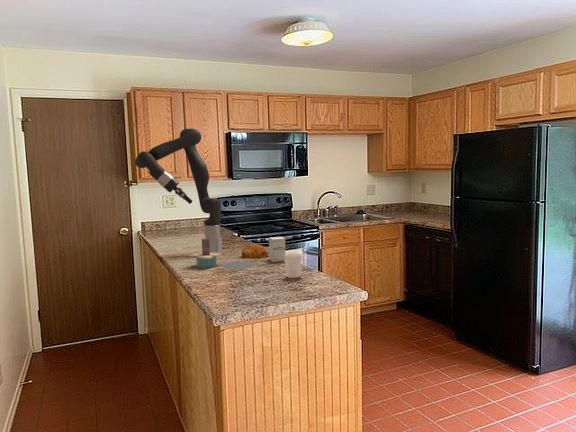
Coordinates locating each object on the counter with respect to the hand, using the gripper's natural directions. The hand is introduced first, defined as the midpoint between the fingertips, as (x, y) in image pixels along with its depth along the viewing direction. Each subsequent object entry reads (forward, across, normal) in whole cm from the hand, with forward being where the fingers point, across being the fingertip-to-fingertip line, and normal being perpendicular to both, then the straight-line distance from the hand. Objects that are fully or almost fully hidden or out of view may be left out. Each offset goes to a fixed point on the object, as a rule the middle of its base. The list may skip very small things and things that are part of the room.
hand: (191, 202), depth 240 cm
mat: (+39, -19, +8) cm, 44 cm away
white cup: (+53, -52, -6) cm, 74 cm away
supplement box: (+54, -15, -7) cm, 56 cm away
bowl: (+27, -14, +19) cm, 36 cm away
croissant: (+48, +2, -1) cm, 48 cm away
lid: (+23, -14, +15) cm, 31 cm away
